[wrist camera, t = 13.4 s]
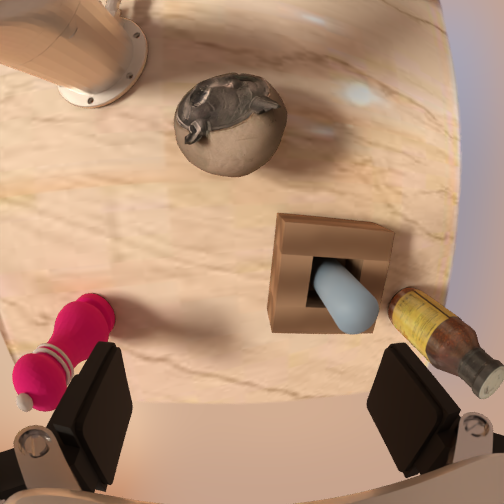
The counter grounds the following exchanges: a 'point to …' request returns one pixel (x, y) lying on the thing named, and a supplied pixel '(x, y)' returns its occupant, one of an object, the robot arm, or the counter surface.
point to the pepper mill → (62, 353)
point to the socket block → (300, 263)
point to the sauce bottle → (445, 340)
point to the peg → (343, 295)
